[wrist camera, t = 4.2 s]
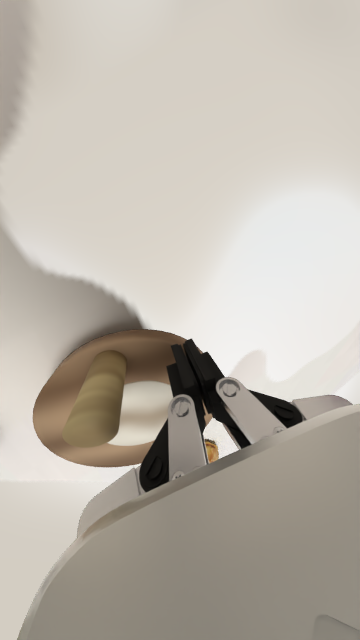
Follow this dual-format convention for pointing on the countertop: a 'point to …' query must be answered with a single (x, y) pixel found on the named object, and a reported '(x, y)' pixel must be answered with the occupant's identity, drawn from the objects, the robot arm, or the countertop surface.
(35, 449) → the countertop surface
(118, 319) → the countertop surface
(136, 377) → the turntable
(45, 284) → the countertop surface
